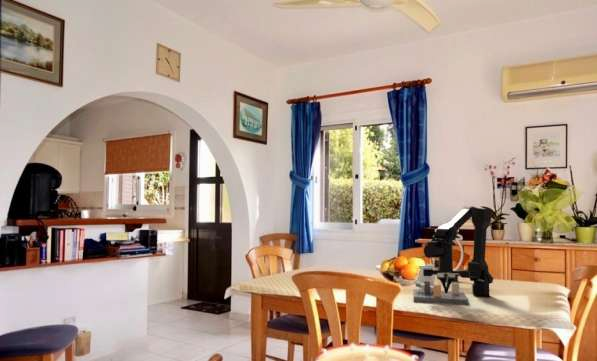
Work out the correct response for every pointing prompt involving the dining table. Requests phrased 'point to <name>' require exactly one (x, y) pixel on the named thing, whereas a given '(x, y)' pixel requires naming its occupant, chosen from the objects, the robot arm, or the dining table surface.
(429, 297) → the panel
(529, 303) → the dining table surface
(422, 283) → the rocker
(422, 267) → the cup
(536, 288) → the dining table surface
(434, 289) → the paddle
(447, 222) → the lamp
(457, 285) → the paddle
